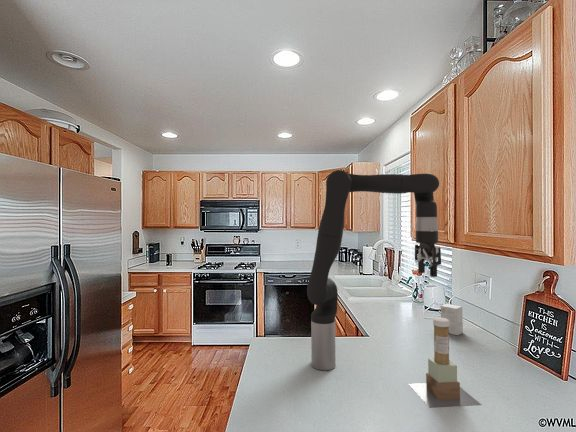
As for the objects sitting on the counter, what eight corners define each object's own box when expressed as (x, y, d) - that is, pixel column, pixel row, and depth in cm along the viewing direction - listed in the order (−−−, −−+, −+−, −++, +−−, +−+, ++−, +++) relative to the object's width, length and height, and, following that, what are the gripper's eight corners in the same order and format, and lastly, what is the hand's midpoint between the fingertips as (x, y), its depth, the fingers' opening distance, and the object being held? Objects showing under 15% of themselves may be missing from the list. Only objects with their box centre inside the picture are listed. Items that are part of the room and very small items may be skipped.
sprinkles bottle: (436, 357, 106) (436, 316, 106) (451, 361, 103) (451, 318, 103) (431, 362, 103) (431, 319, 103) (447, 366, 100) (446, 322, 100)
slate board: (408, 387, 109) (408, 384, 109) (453, 384, 110) (453, 381, 110) (429, 411, 95) (429, 407, 95) (481, 408, 96) (481, 404, 96)
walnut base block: (426, 388, 106) (426, 373, 106) (446, 387, 106) (446, 372, 106) (438, 400, 99) (437, 383, 99) (460, 399, 99) (459, 382, 100)
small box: (463, 332, 161) (462, 306, 162) (457, 335, 157) (457, 308, 158) (446, 328, 168) (446, 303, 168) (440, 331, 164) (440, 305, 164)
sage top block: (428, 373, 105) (428, 358, 106) (446, 372, 106) (445, 357, 106) (438, 382, 99) (438, 366, 100) (457, 381, 100) (456, 365, 100)
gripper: (407, 229, 125) (408, 272, 124) (426, 230, 110) (427, 278, 110) (426, 229, 125) (427, 271, 125) (447, 230, 111) (448, 277, 111)
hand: (427, 274), depth 118 cm, fingers open, 8 cm apart
